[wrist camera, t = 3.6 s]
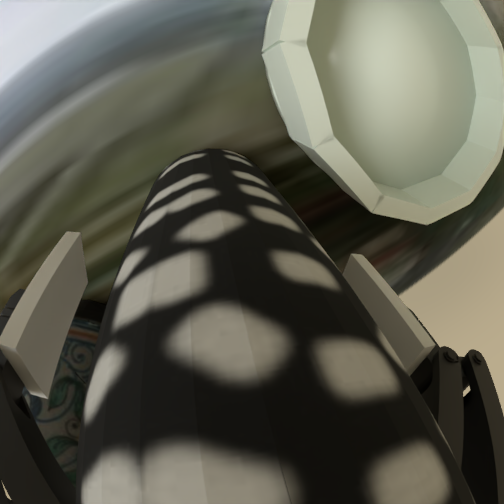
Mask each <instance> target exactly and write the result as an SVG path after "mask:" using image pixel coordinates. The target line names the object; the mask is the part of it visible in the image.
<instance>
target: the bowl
mask: <svg viewBox="0 0 504 504" xmlns="http://www.w3.org/2000/svg"><path fill="white" fill-rule="evenodd" d="M501 46H502V44H501V42H500V40H499V38H498V35H497V33H496V31H495V29H494V27H493V25H492V23H491V21H490V20H489V18H488V16H487V14H486V12H485V11H484V9H483V7H482V5H481V4H480V2H479V0H273V1H272V3H271V6H270V9H269V12H268V15H267V18H266V24H265V30H264V36H263V48H262V52H263V54H262V56H263V59H264V63H265V70H266V76H267V80H268V83H269V87H270V91H271V94H272V97H273V99H274V102H275V104H276V107H277V109H278V112H279V114H280V116H281V118H282V120H283V121H284V123H285V125H286V127H287V130H288V133H289V136H290V137H292V138H291V139H292V140H293V141H294V142H295V143H296V144H297V145H298V146H299V147H300V148H301V149H302V150H303V151H304V152H305V153H306V154H307V156H308V157H309V158H310V159H311V160H312V161H313V162H314V163H315V164H316V165H317V166H318V167H320V168H321V169H322V170H323V171H324V172H325V173H326V174H328V175H329V176H330V177H331V178H332V179H333V180H334V181H335V182H336V184H337V185H338V186H339V187H340V188H341V189H342V190H343V191H344V192H346V193H347V194H348V195H350V196H351V197H352V198H353V199H355V200H356V201H357V202H359V203H360V204H361V205H362V206H364V207H365V208H366V209H368V210H369V211H370V212H372V213H373V214H378V215H383V216H388V217H393V218H398V219H402V220H407V221H411V222H416V223H420V224H425V225H427V224H428V225H429V224H431V223H433V222H435V221H437V220H439V219H441V218H443V217H445V216H447V215H449V214H451V213H453V212H455V211H457V210H459V209H461V208H463V207H465V206H467V205H469V204H471V202H473V200H474V199H475V197H476V196H477V195H478V193H479V192H480V190H481V189H482V188H483V186H484V185H485V183H486V182H487V180H488V179H489V177H490V176H491V174H492V173H493V171H494V169H495V168H496V166H497V165H498V163H499V162H500V159H501V155H502V152H503V147H504V51H503V47H501Z"/></svg>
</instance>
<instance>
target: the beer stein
mask: <svg viewBox="0 0 504 504" xmlns="http://www.w3.org/2000/svg"><path fill="white" fill-rule="evenodd" d="M105 309H106V305H103V304H100V303H97V302H94V301H91V300H80V302H79V305H78V307H77V310H76V312H75V315H74V317H73V320H72V322H71V325H70V328H69V331H68V333H67V336H66V339H65V342H64V345H63V348H62V351H61V354H60V357H59V360H58V364H57V367H56V370H55V374H54V377H53V381H52V385H51V388H50V392H49V396H48V399H46V398H43V397H39V396H36V395H32V394H30V392H29V391H28V390H27V388H26V387H25V385H24V388H23V392H22V394H23V395H24V397H25V399H26V401H27V403H28V406H29V408H30V410H31V413H32V415H33V417H34V419H35V421H36V423H37V425H38V427H39V429H40V431H41V433H42V435H43V437H44V439H45V441H46V443H47V445H48V446H49V448H50V450H51V452H52V453H53V455H54V457H55V458H56V460H57V462H58V463H59V465H60V467H61V468H62V470H63V471H64V473H65V474H66V476H67V477H68V479H69V480H70V482H71V483H72V485H73V486H74V487H75V489H76V469H77V453H78V442H79V433H80V425H81V417H82V410H83V404H84V398H85V392H86V387H87V382H88V377H89V372H90V367H91V363H92V358H93V354H94V350H95V346H96V342H97V338H98V334H99V330H100V326H101V323H102V319H103V316H104V312H105ZM6 497H7V496H6ZM7 500H8V502H9V504H14V503H13V501H12V500H10V499H8V498H7Z"/></svg>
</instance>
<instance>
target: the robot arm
mask: <svg viewBox="0 0 504 504" xmlns="http://www.w3.org/2000/svg"><path fill="white" fill-rule="evenodd" d="M342 275H343V276H344V278H345V279H346V280H347V282H348V283H349V285H350V286H351V287H352V289H353V290H354V292H355V293H356V295H357V296H358V297H359V299H360V300H361V302H362V303H363V305H364V306H365V308H366V309H367V310H368V312H369V313H370V315H371V316H372V318H373V319H374V321H375V322H376V324H377V325H378V327H379V328H380V330H381V331H382V333H383V334H384V336H385V337H386V339H387V340H388V342H389V344H390V345H391V347H392V348H393V350H394V351H395V353H396V355H397V356H398V358H399V359H400V361H401V363H402V364H403V366H404V367H405V369H406V371H407V372H408V374H409V376H410V377H411V379H412V381H413V382H414V384H415V386H416V387H417V389H418V391H419V392H420V394H421V396H422V398H423V399H424V401H425V403H426V404H427V406H428V408H429V410H430V412H431V413H432V415H433V417H434V419H435V421H436V422H437V424H438V426H439V428H440V430H441V432H442V434H443V436H444V437H445V439H446V441H447V443H448V445H449V447H450V449H451V451H452V453H453V455H454V457H455V459H456V461H457V463H458V465H459V467H460V470H461V472H462V474H463V476H464V478H465V480H466V483H467V485H468V487H469V489H470V492H471V494H472V496H473V499H474V501H475V504H504V416H503V412H502V409H501V405H500V402H499V399H498V395H497V392H496V389H495V386H494V383H493V380H492V377H491V375H490V372H489V369H488V366H487V364H486V361H485V359H484V357H483V356H482V354H481V353H480V352H479V351H476V350H470V351H469V352H468V353H467V354H466V355H465V357H459V356H458V355H457V354H456V352H455V351H454V350H452V349H451V348H449V347H446V346H444V347H441V348H440V347H439V346H438V344H437V343H436V342H435V340H434V339H433V337H432V336H431V335H430V334H429V332H428V331H427V329H426V328H425V327H424V326H423V324H422V323H421V322H420V321H418V318H417V317H416V315H415V314H414V313H413V312H412V311H411V310H410V309H409V308H407V307H406V305H405V304H404V303H403V302H402V300H401V299H400V298H399V297H398V296H397V294H396V293H395V292H394V291H393V289H392V288H391V287H390V286H389V285H388V284H387V282H386V281H385V280H384V279H383V278H382V276H381V275H380V274H379V273H378V272H377V271H376V270H375V268H374V267H373V266H372V265H371V264H370V263H369V262H368V260H367V259H366V258H365V257H364V256H363V255H361V254H351V255H350V257H349V260H348V262H347V265H346V267H345V270H344V272H343V274H342ZM87 284H88V280H87V274H86V268H85V261H84V254H83V247H82V238H81V233H80V232H66V233H65V234H64V236H63V237H62V238H61V240H60V241H59V242H58V244H57V245H56V246H55V248H54V249H53V250H52V252H51V253H50V254H49V256H48V257H47V259H46V260H45V262H44V263H43V264H42V266H41V267H40V269H39V270H38V272H37V273H36V275H35V276H34V278H33V280H32V281H31V283H30V284H29V286H28V287H27V289H26V290H23V289H19V290H18V291H17V292H16V293H15V294H13V295H12V296H11V297H10V299H9V301H8V302H7V304H6V306H5V308H4V309H3V311H2V313H1V316H0V504H9V502H8V500H7V497H6V494H5V491H4V488H3V485H2V482H3V484H4V486H5V488H6V490H7V492H8V494H9V496H10V498H11V499H12V501H13V503H14V504H76V489H75V487H74V486H73V485H72V483H71V482H70V480H69V479H68V477H67V476H66V474H65V473H64V471H63V470H62V468H61V467H60V465H59V463H58V462H57V460H56V458H55V457H54V455H53V453H52V452H51V450H50V448H49V446H48V445H47V443H46V441H45V439H44V437H43V435H42V433H41V431H40V429H39V427H38V425H37V423H36V421H35V419H34V417H33V415H32V413H31V410H30V408H29V406H28V403H27V401H26V399H25V397H24V395H23V394H22V392H23V388H24V385H25V387H26V388H27V390H28V391H29V392H30V394H32V395H36V396H39V397H43V398H46V399H48V396H49V392H50V388H51V385H52V381H53V377H54V374H55V370H56V367H57V364H58V360H59V357H60V354H61V351H62V348H63V345H64V342H65V339H66V336H67V333H68V331H69V328H70V325H71V322H72V320H73V317H74V315H75V312H76V310H77V307H78V305H79V302H80V300H81V297H82V295H83V293H84V290H85V288H86V286H87ZM468 386H470V389H471V390H470V391H469V393H467V394H466V396H464V397H463V391H464V390H465V389H466V388H467V387H468ZM1 480H2V481H1Z"/></svg>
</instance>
